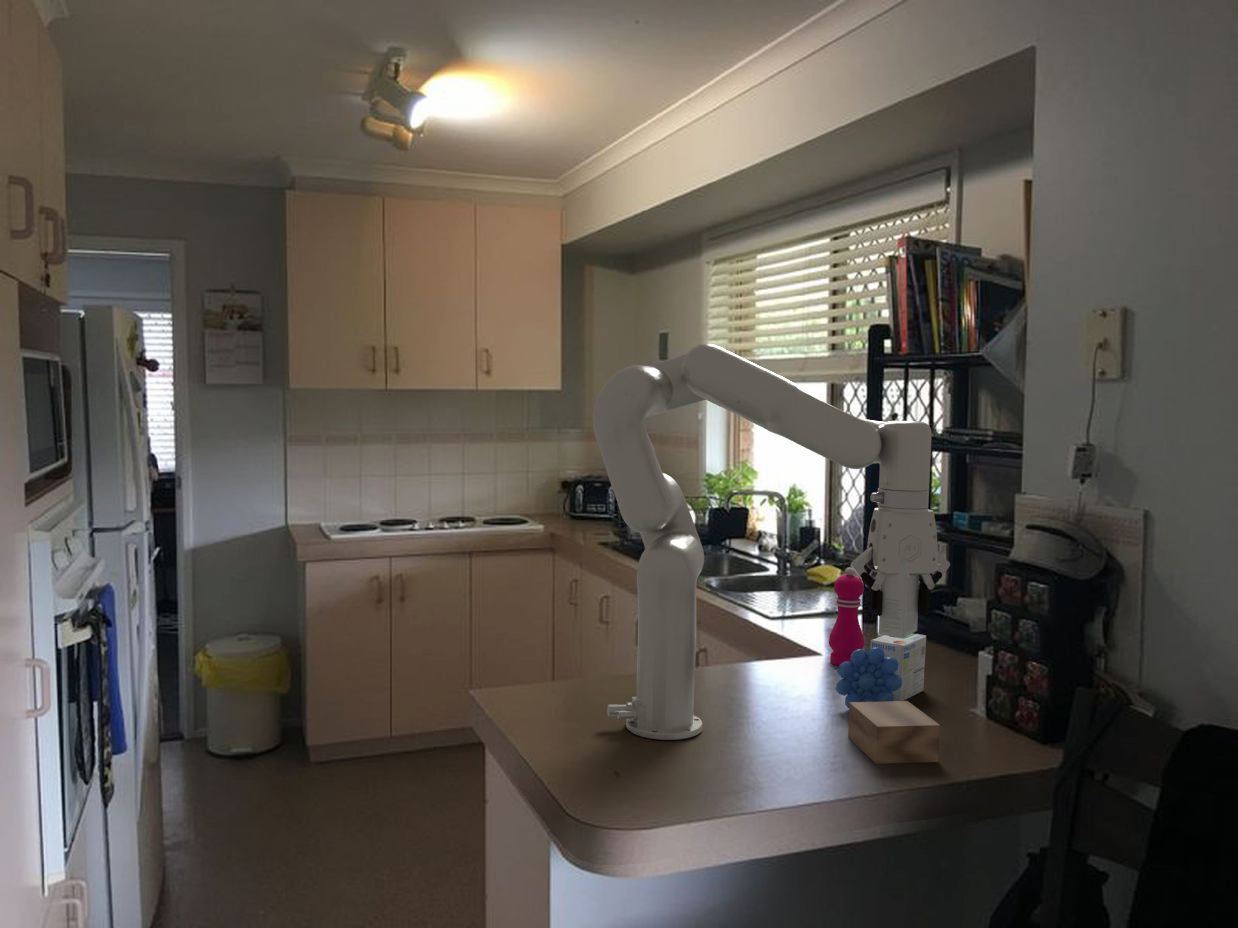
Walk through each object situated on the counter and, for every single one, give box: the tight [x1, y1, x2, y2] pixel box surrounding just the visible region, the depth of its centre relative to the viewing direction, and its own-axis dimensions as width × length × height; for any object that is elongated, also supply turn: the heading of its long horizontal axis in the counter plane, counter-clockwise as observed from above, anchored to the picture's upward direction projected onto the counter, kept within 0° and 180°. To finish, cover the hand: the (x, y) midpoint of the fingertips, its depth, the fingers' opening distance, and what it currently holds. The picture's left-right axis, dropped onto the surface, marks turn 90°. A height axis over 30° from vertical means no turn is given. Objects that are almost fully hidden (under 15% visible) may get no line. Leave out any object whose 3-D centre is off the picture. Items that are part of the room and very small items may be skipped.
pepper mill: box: [828, 566, 865, 667], centre depth 214 cm, size 7×7×20 cm
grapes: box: [835, 647, 902, 709], centre depth 182 cm, size 12×7×12 cm, turn 59°
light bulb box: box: [869, 633, 927, 701], centre depth 194 cm, size 11×7×11 cm, turn 141°
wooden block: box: [847, 700, 941, 765], centre depth 164 cm, size 10×12×6 cm
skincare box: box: [878, 561, 919, 638], centre depth 162 cm, size 6×4×12 cm
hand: (898, 612), depth 162 cm, fingers closed on skincare box, 7 cm apart
